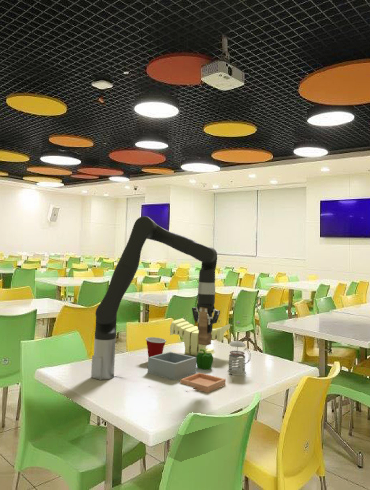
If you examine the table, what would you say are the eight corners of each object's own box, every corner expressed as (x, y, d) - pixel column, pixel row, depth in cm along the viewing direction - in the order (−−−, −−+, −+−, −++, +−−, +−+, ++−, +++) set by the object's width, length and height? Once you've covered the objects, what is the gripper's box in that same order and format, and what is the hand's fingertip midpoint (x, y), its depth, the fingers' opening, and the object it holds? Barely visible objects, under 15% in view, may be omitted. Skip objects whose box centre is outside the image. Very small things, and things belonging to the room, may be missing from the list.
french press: (231, 368, 204) (233, 318, 204) (253, 372, 198) (255, 321, 199) (222, 373, 196) (224, 320, 196) (245, 377, 190) (247, 323, 190)
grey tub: (174, 382, 178) (175, 364, 179) (147, 374, 188) (148, 357, 188) (195, 374, 191) (196, 357, 191) (169, 367, 201) (170, 351, 201)
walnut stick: (205, 345, 174) (207, 308, 175) (198, 344, 177) (199, 307, 177) (210, 344, 177) (212, 307, 178) (203, 342, 180) (204, 306, 180)
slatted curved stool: (169, 353, 231) (170, 321, 231) (181, 347, 245) (182, 318, 245) (219, 361, 218) (220, 327, 218) (228, 354, 232) (230, 323, 233)
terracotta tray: (207, 392, 167) (207, 386, 167) (180, 385, 175) (180, 379, 175) (225, 384, 178) (225, 379, 178) (199, 378, 186) (199, 372, 186)
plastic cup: (164, 365, 205) (165, 341, 205) (143, 364, 205) (144, 340, 205) (166, 359, 216) (167, 337, 216) (145, 359, 216) (146, 336, 216)
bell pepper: (215, 369, 202) (216, 349, 202) (208, 373, 195) (208, 352, 195) (200, 366, 206) (201, 346, 206) (192, 370, 199) (193, 349, 199)
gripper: (188, 291, 179) (186, 331, 178) (215, 294, 170) (214, 336, 170) (198, 290, 185) (196, 328, 184) (224, 293, 176) (223, 333, 176)
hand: (204, 332), depth 177 cm, fingers closed on walnut stick, 4 cm apart
